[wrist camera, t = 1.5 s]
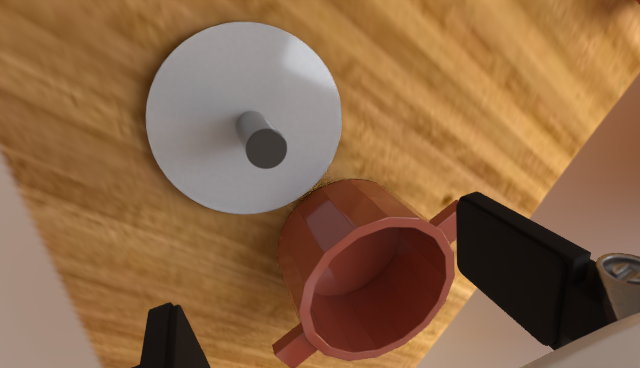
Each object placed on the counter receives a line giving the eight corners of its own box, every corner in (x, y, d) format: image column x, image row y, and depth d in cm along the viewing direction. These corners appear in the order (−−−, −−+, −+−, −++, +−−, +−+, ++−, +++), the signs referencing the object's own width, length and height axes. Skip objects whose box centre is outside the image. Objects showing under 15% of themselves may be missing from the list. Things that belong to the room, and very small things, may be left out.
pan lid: (98, 105, 22) (64, 129, 17) (268, -23, 23) (294, -43, 17) (235, 239, 29) (246, 290, 23) (366, 138, 29) (409, 163, 24)
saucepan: (221, 262, 29) (230, 327, 23) (391, 130, 30) (446, 156, 23) (304, 337, 35) (330, 404, 29) (444, 226, 36) (500, 268, 29)
